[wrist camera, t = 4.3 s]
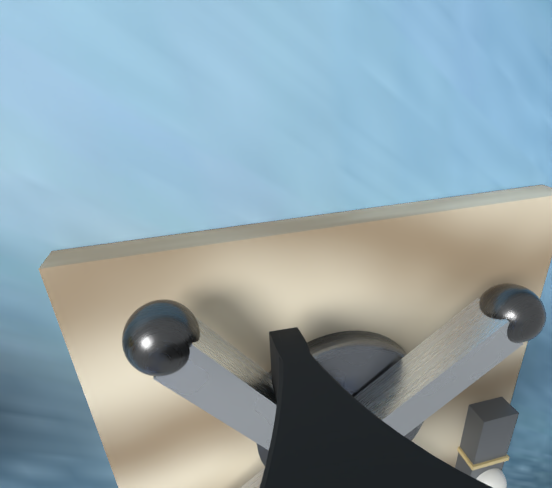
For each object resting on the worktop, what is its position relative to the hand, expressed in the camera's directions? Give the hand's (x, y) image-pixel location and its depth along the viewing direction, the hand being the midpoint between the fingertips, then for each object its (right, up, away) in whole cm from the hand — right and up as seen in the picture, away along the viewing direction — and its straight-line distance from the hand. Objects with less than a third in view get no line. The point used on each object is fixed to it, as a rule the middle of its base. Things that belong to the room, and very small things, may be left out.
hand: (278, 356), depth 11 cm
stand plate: (+2, -3, +5) cm, 6 cm away
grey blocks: (+10, -7, +8) cm, 14 cm away
